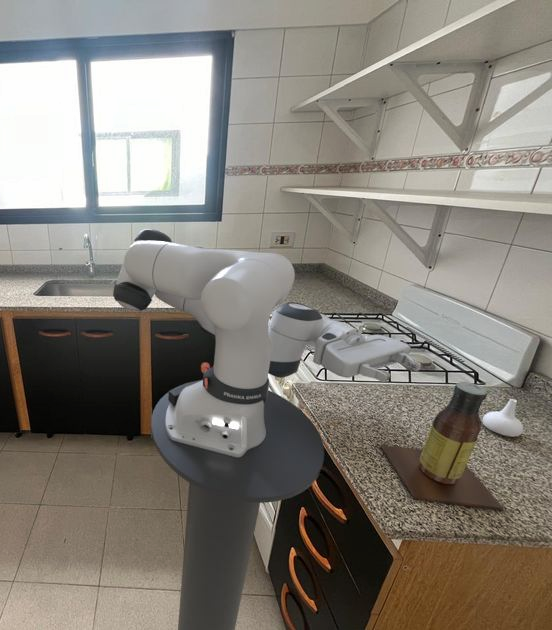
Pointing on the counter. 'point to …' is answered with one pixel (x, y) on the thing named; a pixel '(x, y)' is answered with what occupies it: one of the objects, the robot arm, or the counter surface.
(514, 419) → the garlic bulb
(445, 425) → the sauce bottle
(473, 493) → the walnut board
